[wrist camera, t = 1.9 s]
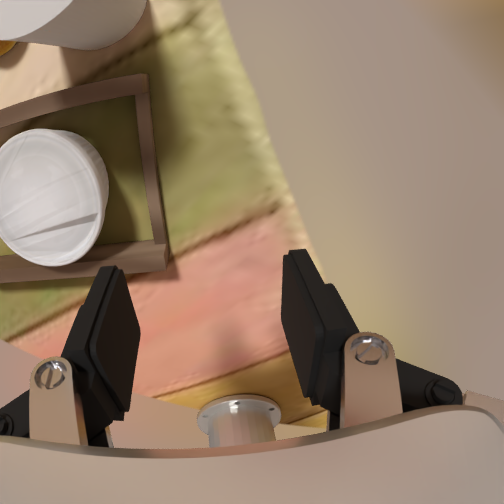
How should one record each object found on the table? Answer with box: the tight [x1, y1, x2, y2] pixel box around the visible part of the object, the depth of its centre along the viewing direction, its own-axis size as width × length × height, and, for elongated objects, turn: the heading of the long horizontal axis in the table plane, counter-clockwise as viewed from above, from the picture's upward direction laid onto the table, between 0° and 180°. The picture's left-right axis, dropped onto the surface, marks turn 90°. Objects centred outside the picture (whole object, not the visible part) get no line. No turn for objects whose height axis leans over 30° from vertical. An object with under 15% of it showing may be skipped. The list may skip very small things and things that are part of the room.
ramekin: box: [0, 129, 109, 266], centre depth 22 cm, size 11×11×5 cm
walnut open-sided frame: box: [0, 73, 169, 283], centre depth 23 cm, size 16×22×3 cm
